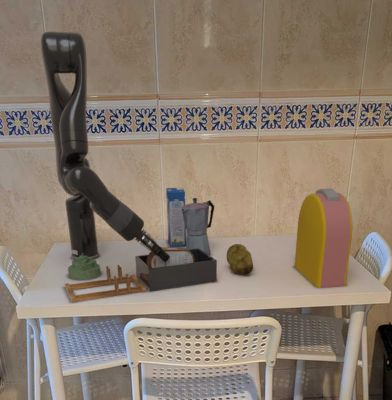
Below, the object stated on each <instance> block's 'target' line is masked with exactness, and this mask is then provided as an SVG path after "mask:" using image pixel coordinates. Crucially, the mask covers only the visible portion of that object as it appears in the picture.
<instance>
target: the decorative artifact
mask: <svg viewBox="0 0 392 400" xmlns="http://www.w3.org/2000/svg"><path fill="white" fill-rule="evenodd" d="M67 271H68V277H69V278H70V279H72V280H76V281H87V280H92V279H95V278H98V277H99V276H101V265H100V264H99V263H97V260H96V259H90V257H87V256H83V253H82V255H81V256H79V258H76V259H72V260H71V265H69V266H68V267H67Z"/></svg>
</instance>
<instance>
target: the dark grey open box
mask: <svg viewBox="0 0 392 400" xmlns="http://www.w3.org/2000/svg"><path fill="white" fill-rule="evenodd" d="M189 251H190V252H191V253H192V254H193V255H194V258H195V263H187V264H180V265H172V266H164V267H157V268H149V267H148V266H147V257H148V255H149V253H148V254H141V255H135V256H134V257H135V271H136V272H135V273H136V277H137V278H138V279H139V281H140V282H141V283H142V284H143V285H144V286H145V287H146V290H148V291H149V292H156V291H162V290H163V291H164V290H169V289H177V288H183V287H190V286H197V285H203V284H210V283H216V282H217V280H218V279H217V277H218V276H217V274H218V272H217V271H218V269H217V267H218V264H217V263H218V260H217V259H216V258H214V257H212V256H211V254H210V255H208V254H207V253H205V252H204V251H202V250H201V249H199V248H197V249H189Z"/></svg>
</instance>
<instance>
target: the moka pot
mask: <svg viewBox="0 0 392 400" xmlns="http://www.w3.org/2000/svg"><path fill="white" fill-rule="evenodd" d="M197 201H198V198H197V197H193V198H192V203H191V202H190V203H187V204H186V203H185V205H184V206H182V207H181V208H182V210H181V212H182V214H183V219H184V224H185V228H186V247H185V248H187V249H188V250H189V249H197V248H199V249H201V250H202V251H204V252H205V253H207V254H208V255H210V256H211V246H210V242H209V236H208V229H210V228H211V227H212V223H213V216H214V213H215V212H214V211H215V205H214V203H213V202H212V201H211V200H207V201H203V202H197ZM209 213H210V215H209Z"/></svg>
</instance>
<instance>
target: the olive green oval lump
mask: <svg viewBox="0 0 392 400" xmlns="http://www.w3.org/2000/svg"><path fill="white" fill-rule="evenodd" d="M226 261H227V263H228V265H229V268H230V270H231V271H232V273H234V274H236V275H239V276H248V275H249V274H252V272H253V270H254V263H253V262H254V261H253V258H252V254H251V252H250V251H249V250H248V249H247V247H246V246H245V245H243V244H241V243H235V244H232V245H231V246H229V247H228V248H227V251H226Z"/></svg>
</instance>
